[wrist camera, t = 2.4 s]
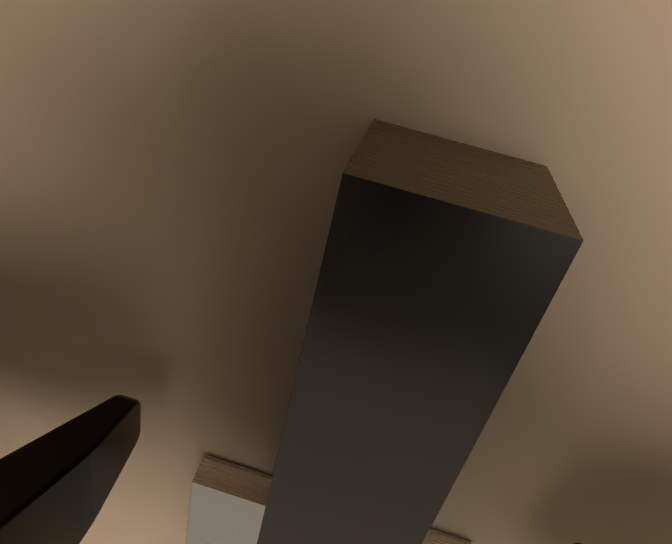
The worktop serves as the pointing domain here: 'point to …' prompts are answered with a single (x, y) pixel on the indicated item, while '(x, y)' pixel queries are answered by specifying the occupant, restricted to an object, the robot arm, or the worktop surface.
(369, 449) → the turner
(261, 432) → the worktop surface
